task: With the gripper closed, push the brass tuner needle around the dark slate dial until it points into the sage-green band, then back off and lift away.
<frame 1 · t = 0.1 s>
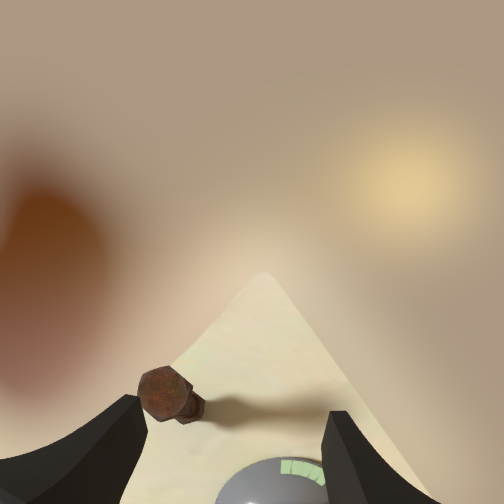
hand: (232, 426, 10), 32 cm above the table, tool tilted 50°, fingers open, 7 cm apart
bolt: (193, 410, 39), on the table
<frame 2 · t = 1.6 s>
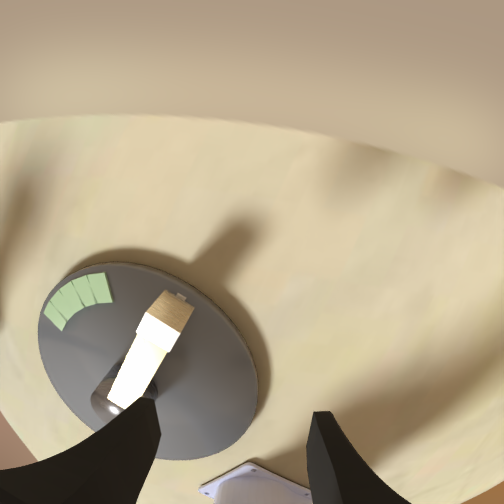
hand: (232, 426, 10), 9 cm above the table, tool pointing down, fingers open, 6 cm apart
peg lever: (138, 371, 18), point 3 cm above the table, hinge at -80.0°
dial plate: (138, 376, 21), on the table
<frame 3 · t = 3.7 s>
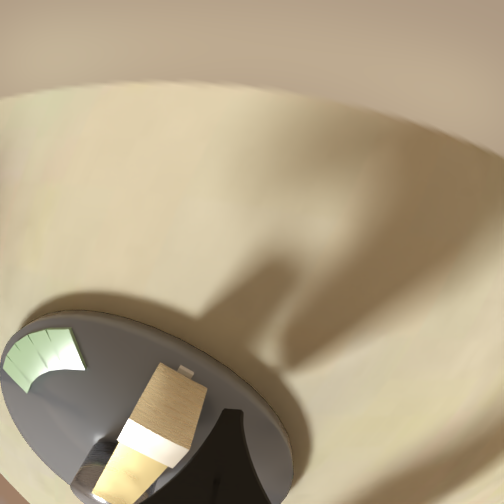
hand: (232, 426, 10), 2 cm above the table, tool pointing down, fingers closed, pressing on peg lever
peg lever: (129, 464, 11), point 3 cm above the table, hinge at -79.8°, touching gripper
dial plate: (131, 449, 14), on the table
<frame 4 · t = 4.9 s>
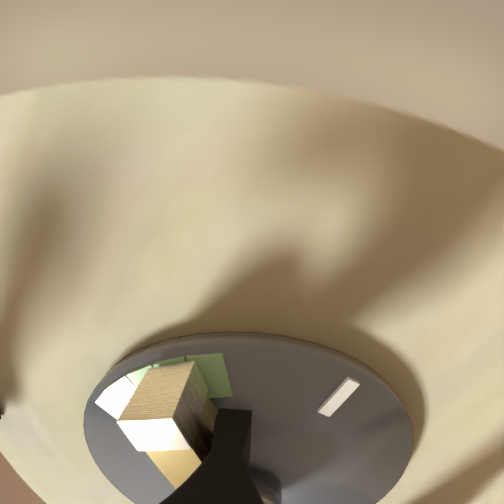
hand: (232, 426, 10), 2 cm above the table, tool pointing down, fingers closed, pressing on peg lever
peg lever: (215, 478, 11), point 3 cm above the table, hinge at -31.5°, touching gripper
dial plate: (244, 469, 14), on the table
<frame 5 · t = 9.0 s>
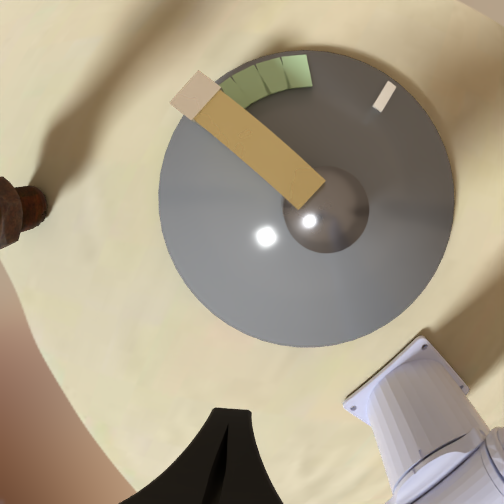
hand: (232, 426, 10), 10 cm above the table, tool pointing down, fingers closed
bolt: (36, 205, 19), on the table
peg lever: (273, 161, 15), point 3 cm above the table, hinge at 0.0°
dial plate: (314, 201, 18), on the table
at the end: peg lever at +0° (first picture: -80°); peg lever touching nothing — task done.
